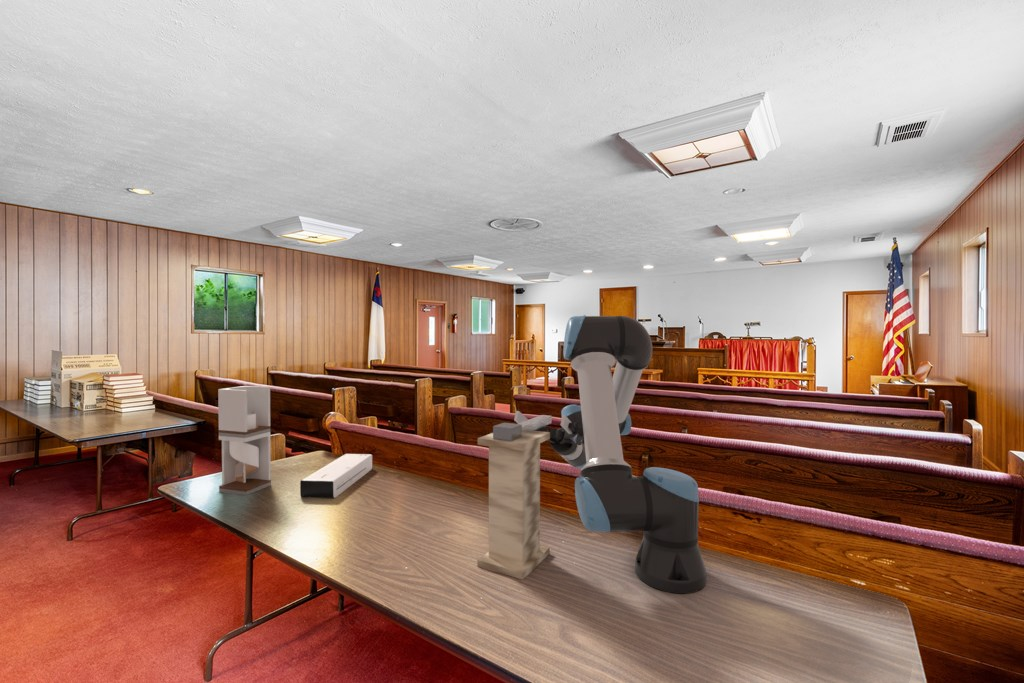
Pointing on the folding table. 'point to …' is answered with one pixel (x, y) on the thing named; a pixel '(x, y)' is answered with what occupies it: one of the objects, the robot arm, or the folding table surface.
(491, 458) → the pedestal
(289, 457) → the folding table surface
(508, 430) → the grey long bar
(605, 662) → the folding table surface
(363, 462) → the laminator
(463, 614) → the folding table surface
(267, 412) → the white tower
